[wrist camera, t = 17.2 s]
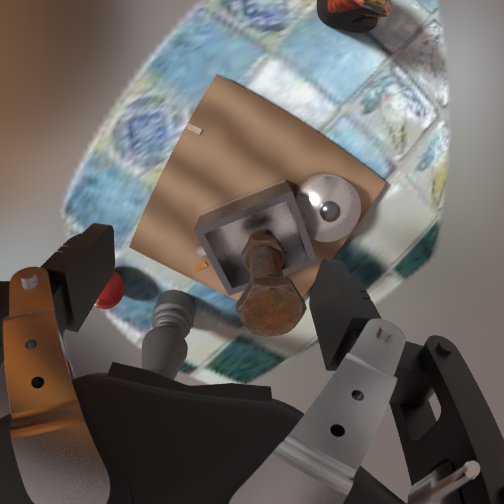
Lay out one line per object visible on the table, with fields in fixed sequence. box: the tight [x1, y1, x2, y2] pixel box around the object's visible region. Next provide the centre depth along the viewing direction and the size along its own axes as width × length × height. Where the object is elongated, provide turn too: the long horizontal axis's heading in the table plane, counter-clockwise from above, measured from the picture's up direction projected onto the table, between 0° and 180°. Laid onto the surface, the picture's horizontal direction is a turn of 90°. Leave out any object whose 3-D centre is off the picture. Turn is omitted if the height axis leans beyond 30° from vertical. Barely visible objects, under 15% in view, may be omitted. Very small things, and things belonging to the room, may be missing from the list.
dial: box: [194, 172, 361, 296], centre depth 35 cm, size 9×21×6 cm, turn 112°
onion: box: [94, 271, 124, 309], centre depth 39 cm, size 6×6×8 cm
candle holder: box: [142, 290, 196, 380], centre depth 34 cm, size 6×6×25 cm
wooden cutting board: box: [129, 74, 386, 300], centre depth 38 cm, size 25×25×2 cm
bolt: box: [236, 229, 307, 336], centre depth 31 cm, size 6×5×15 cm
